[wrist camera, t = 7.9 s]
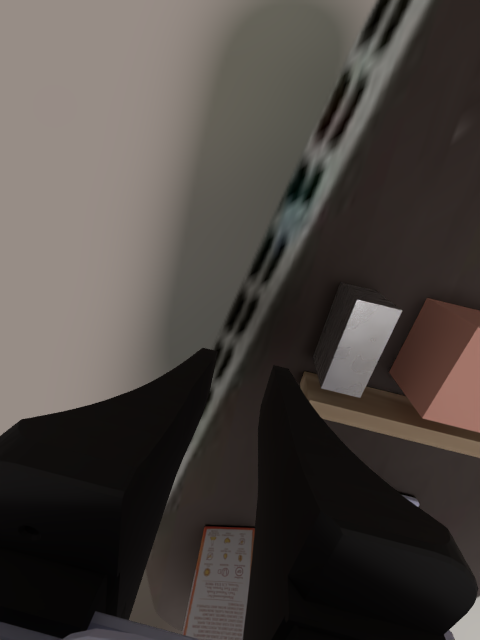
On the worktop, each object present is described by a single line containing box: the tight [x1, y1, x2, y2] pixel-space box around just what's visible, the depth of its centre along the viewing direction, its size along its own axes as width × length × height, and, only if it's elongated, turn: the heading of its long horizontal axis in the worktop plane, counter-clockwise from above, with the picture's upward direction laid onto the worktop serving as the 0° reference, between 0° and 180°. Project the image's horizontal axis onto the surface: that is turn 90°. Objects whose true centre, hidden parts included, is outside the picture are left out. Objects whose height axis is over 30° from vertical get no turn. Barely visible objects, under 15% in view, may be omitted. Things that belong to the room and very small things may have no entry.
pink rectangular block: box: [389, 298, 480, 433], centre depth 17 cm, size 6×4×5 cm, turn 168°
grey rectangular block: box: [313, 282, 402, 398], centre depth 18 cm, size 6×2×4 cm, turn 168°
